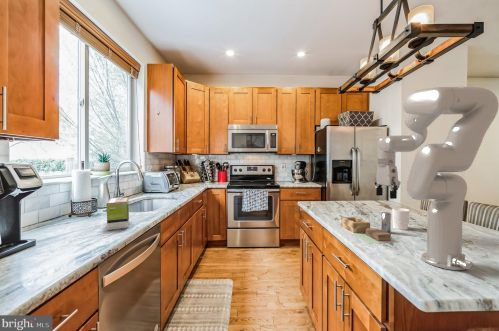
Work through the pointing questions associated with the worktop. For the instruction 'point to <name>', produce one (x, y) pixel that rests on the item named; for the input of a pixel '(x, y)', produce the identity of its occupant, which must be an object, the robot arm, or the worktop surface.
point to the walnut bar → (378, 234)
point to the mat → (371, 239)
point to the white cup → (400, 218)
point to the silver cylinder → (386, 222)
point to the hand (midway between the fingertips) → (385, 196)
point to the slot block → (355, 224)
